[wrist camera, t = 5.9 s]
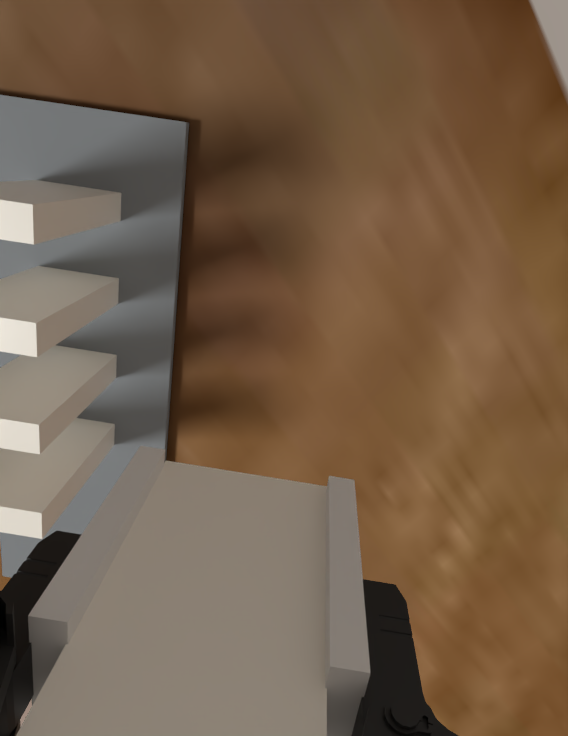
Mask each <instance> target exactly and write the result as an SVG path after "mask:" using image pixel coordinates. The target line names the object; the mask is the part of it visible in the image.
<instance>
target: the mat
mask: <svg viewBox="0 0 568 736" xmlns="http://www.w3.org/2000/svg"><path fill="white" fill-rule="evenodd" d="M188 132H189V123H187V122H182V121H175V120H168V119H161V118H155V117H148V116H141V115H134V114H127V113H121V112H114V111H107V110H100V109H93V108H87V107H80V106H73V105H66V104H59V103H53V102H46V101H39V100H32V99H25V98H19V97H12V96H5V95H0V182H6V181H25V180H40V181H47V182H53V183H60V184H67V185H73V186H80V187H86V188H93V189H100V190H106V191H113V192H120V193H121V221H119V222H115V223H112V224H108V225H104V226H101V227H97V228H93V229H90V230H86V231H82V232H78V233H75V234H71V235H67V236H64V237H60V238H56V239H53V240H49V241H45V242H41V243H38V244H34V245H33V244H27V243H20V242H14V241H7V240H1V239H0V279H2V278H5V277H8V276H11V275H14V274H17V273H19V272H22V271H25V270H28V269H31V268H34V267H37V266H43V267H49V268H56V269H62V270H69V271H75V272H82V273H88V274H95V275H101V276H108V277H114V278H119V293H118V304H117V305H115V306H114V307H112V308H111V309H109V310H108V311H106V312H105V313H103V314H102V315H100V316H99V317H97V318H96V319H94V320H93V321H91V322H90V323H88V324H87V325H85V326H84V327H82V328H81V329H79V330H78V331H76V332H75V333H73V334H72V335H70V336H68V337H67V338H65V339H64V340H62V341H61V342H59V343H58V344H56V345H57V346H63V347H70V348H76V349H83V350H89V351H95V352H102V353H108V354H114V355H117V364H116V378H115V379H114V380H113V381H112V382H111V383H110V384H109V385H108V386H107V387H106V388H105V389H104V390H103V391H102V392H101V393H100V394H99V395H98V396H97V397H96V398H95V399H94V400H93V401H92V403H91V404H90V405H89V406H88V407H87V408H86V409H85V410H84V411H83V412H82V413H81V414H80V415H79V416H78V417H77V418H80V419H87V420H93V421H99V422H105V423H112V424H115V436H114V446H113V447H112V448H111V450H110V451H109V452H108V454H107V455H106V456H105V457H104V459H103V460H102V461H101V463H100V464H99V465H98V467H97V468H96V469H95V471H94V472H93V473H92V475H91V476H90V477H89V478H88V480H87V481H86V482H85V484H84V485H83V486H82V488H81V489H80V490H79V492H78V493H77V494H76V495H75V497H74V498H73V499H72V501H71V502H70V503H69V505H68V506H67V507H66V509H65V510H64V511H63V512H62V514H61V515H60V516H59V518H58V519H57V520H56V522H55V523H54V524H53V526H52V527H51V528H50V530H49V531H48V532H47V533H46V535H45V536H44V537H43V539H45V538H46V537H48V536H49V535H51V534H52V533H54V532H55V531H63V532H69V533H75V534H81V535H82V533H83V532H84V530H85V529H86V527H87V526H88V524H89V523H90V521H91V520H92V518H93V517H94V515H95V514H96V512H97V511H98V509H99V508H100V506H101V505H102V503H103V502H104V500H105V499H106V497H107V496H108V494H109V493H110V491H111V490H112V488H113V487H114V485H115V484H116V482H117V481H118V479H119V478H120V476H121V474H122V473H123V471H124V470H125V468H126V467H127V465H128V464H129V462H130V461H131V459H132V458H133V456H134V455H135V453H136V452H137V450H138V449H139V447H140V446H146V447H152V448H158V449H164V450H165V461H166V454H167V440H168V425H169V410H170V396H171V381H172V366H173V352H174V337H175V322H176V308H177V293H178V278H179V264H180V249H181V234H182V220H183V205H184V190H185V176H186V161H187V146H188ZM19 356H20V355H19V354H13V353H7V352H0V368H1V367H2V366H4V365H6V364H7V363H9V362H10V361H12V360H14V359H15V358H17V357H19ZM0 449H1V448H0ZM165 461H164V463H165ZM43 539H39V538H33V537H27V536H21V535H15V534H9V533H3V532H0V542H1V558H2V574H3V576H6V577H13V575H14V574H16V573H17V570H18V569H19V567H20V566H21V565H22V563H23V562H24V561H26V559H27V557H28V556H29V554H30V553H31V552H32V550H33V549H34V548H35V546H36V545H37V544H38V542H40V541H41V540H43Z"/></svg>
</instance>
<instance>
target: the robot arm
mask: <svg viewBox="0 0 568 736" xmlns="http://www.w3.org/2000/svg"><path fill="white" fill-rule="evenodd" d="M164 461H165V450H164V449H158V448H152V447H146V446H140V447H139V449H138V450H137V452H136V453H135V455H134V456H133V458H132V459H131V461H130V462H129V464H128V465H127V467H126V468H125V470H124V471H123V473H122V474H121V476H120V478H119V479H118V481H117V482H116V484H115V485H114V487H113V488H112V490H111V491H110V493H109V494H108V496H107V497H106V499H105V500H104V502H103V503H102V505H101V506H100V508H99V509H98V511H97V512H96V514H95V515H94V517H93V518H92V520H91V521H90V523H89V524H88V526H87V527H86V529H85V530H84V532H83V533H82V535H81V534H75V533H69V532H63V531H55V532H54V533H52V534H51V535H49V536H48V537H46V538H45V539H43V540H41V541H40V542H38V544H37V545H36V546H35V548H34V549H33V550H32V552H31V553H30V554H29V556H28V557H27V559H26V561H24V562H23V563H22V565H21V566H20V567H19V569H18V570H17V573H16V574H14V575H13V577H12V578H11V579H10V581H9V582H8V583H7V584H6V586H5V587H4V588H3V590H2V591H0V736H16V735H17V733H18V731H19V729H20V718H21V716H22V715H23V713H24V711H25V709H26V708H27V706H28V704H29V702H30V700H31V698H32V705H33V704H34V702H35V700H36V698H37V696H38V694H39V693H40V691H41V689H42V687H43V685H44V683H45V682H46V680H47V678H48V676H49V674H50V672H51V671H52V669H53V667H54V665H55V663H56V661H57V660H58V658H59V656H60V654H61V652H62V650H63V649H64V647H65V645H66V644H67V645H68V643H69V641H70V640H71V638H72V636H73V634H74V632H75V630H76V628H77V627H78V625H79V623H80V621H81V619H82V617H83V615H84V614H85V612H86V610H87V608H88V606H89V604H90V602H91V601H92V599H93V597H94V595H95V593H96V591H97V589H98V588H99V586H100V584H101V582H102V580H103V578H104V576H105V575H106V573H107V571H108V569H109V567H110V565H111V564H112V562H113V560H114V558H115V556H116V554H117V552H118V551H119V549H120V547H121V545H122V543H123V541H124V539H125V538H126V536H127V534H128V532H129V530H130V528H131V526H132V525H133V523H134V521H135V519H136V517H137V515H138V513H139V512H140V510H141V508H142V506H143V504H144V502H145V500H146V499H147V497H148V495H149V493H150V491H151V489H152V487H153V486H154V484H155V482H156V480H157V478H158V476H159V474H160V473H161V471H162V469H163V467H164ZM325 688H327V736H458V735H456V734H455V733H453V732H451V731H450V730H448V729H447V728H446V727H445V726H443V725H442V724H441V723H440V722H439V721H438V720H437V719H436V718H435V716H434V714H433V712H432V710H431V708H430V707H429V706H428V705H427V704H426V702H425V699H424V696H423V692H422V687H421V681H420V676H419V670H418V664H417V659H416V653H415V648H414V642H413V638H412V631H411V625H410V623H409V614H408V609H407V603H406V601H405V599H404V597H403V596H402V594H401V593H400V591H399V590H398V588H397V587H396V585H394V584H388V583H382V582H376V581H370V580H364V579H363V577H362V566H361V554H360V542H359V530H358V518H357V506H356V494H355V482H354V480H352V479H345V478H339V477H333V476H329V479H328V485H327V490H326V609H325Z"/></svg>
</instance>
